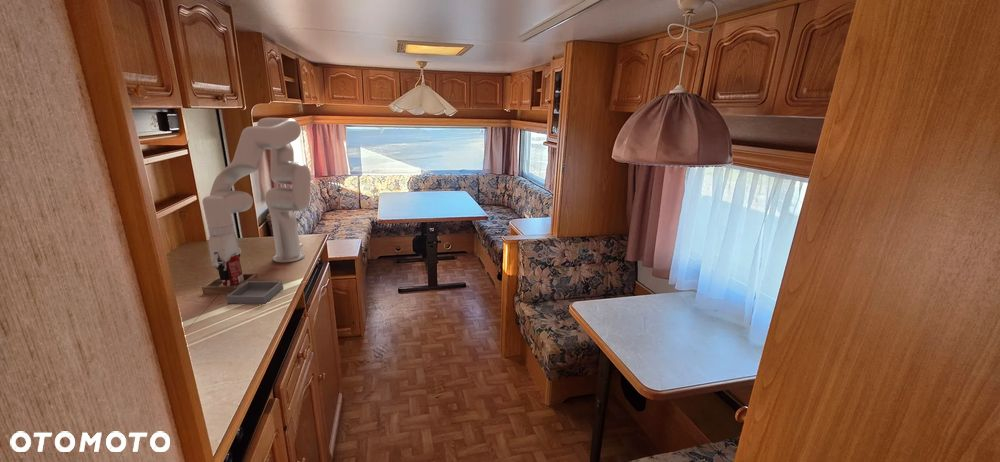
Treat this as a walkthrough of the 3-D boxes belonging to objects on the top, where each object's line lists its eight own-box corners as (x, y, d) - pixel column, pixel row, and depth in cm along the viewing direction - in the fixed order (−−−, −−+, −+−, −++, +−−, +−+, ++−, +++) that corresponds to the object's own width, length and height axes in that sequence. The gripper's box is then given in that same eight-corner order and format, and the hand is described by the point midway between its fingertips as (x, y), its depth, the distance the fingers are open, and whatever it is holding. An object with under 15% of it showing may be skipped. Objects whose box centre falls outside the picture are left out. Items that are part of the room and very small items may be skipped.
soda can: (248, 280, 154) (242, 251, 150) (235, 288, 148) (229, 258, 144) (232, 279, 155) (225, 250, 151) (218, 287, 148) (211, 257, 145)
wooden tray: (225, 279, 156) (224, 273, 156) (258, 279, 157) (257, 273, 156) (203, 293, 144) (201, 287, 144) (239, 294, 145) (237, 287, 144)
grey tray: (248, 288, 149) (247, 281, 148) (283, 288, 149) (282, 281, 148) (227, 304, 137) (226, 296, 136) (265, 304, 137) (263, 296, 136)
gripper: (226, 222, 152) (235, 266, 158) (194, 237, 136) (205, 286, 141) (246, 222, 152) (254, 266, 158) (216, 237, 136) (226, 286, 142)
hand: (231, 275), depth 150 cm, fingers closed on soda can, 6 cm apart
